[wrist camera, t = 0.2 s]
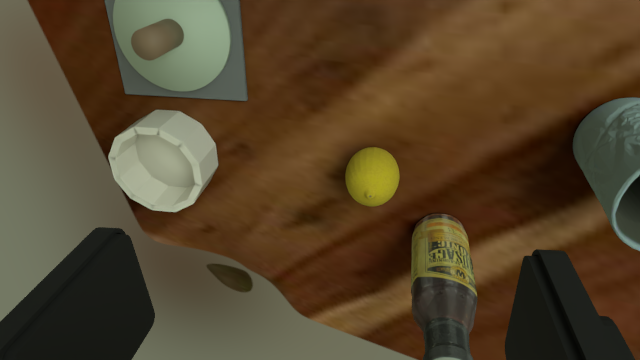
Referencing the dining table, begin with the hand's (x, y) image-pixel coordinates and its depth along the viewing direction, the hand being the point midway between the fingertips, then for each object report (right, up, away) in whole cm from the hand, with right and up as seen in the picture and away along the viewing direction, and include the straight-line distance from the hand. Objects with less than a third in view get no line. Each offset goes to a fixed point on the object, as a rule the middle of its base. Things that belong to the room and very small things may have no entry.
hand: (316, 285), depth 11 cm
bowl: (-17, +6, +42) cm, 46 cm away
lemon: (+6, +5, +39) cm, 39 cm away
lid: (-15, +18, +34) cm, 41 cm away
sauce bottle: (+14, -3, +42) cm, 44 cm away
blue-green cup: (+30, +7, +34) cm, 45 cm away
